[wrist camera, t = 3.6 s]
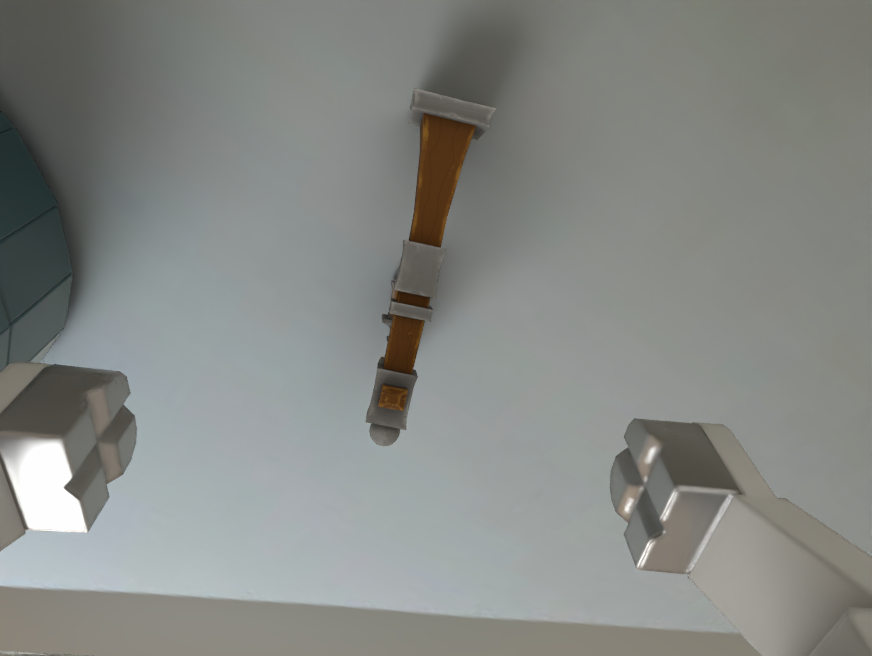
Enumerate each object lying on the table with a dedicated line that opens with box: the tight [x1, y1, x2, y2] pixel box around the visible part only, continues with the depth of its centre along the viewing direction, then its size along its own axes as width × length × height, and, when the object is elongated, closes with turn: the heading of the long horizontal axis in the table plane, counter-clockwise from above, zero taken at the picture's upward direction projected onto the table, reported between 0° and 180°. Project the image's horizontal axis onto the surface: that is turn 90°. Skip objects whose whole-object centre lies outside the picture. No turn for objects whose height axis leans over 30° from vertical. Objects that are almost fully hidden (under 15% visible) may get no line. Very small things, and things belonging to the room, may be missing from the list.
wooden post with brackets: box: [366, 88, 496, 446], centre depth 15 cm, size 2×8×4 cm, turn 167°
